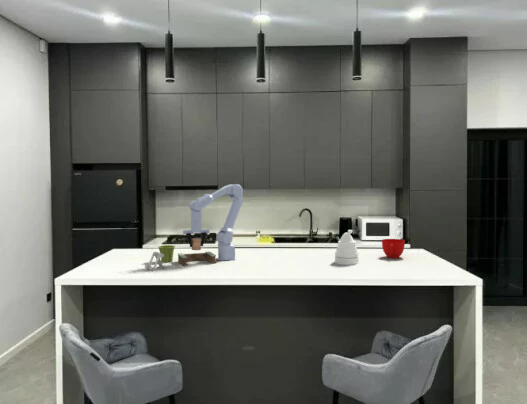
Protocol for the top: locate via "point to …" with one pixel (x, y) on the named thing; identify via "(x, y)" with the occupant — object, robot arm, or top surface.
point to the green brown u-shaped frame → (196, 257)
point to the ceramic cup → (393, 247)
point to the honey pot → (346, 250)
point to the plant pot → (167, 252)
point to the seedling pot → (196, 243)
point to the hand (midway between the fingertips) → (196, 246)
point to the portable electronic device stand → (158, 256)
